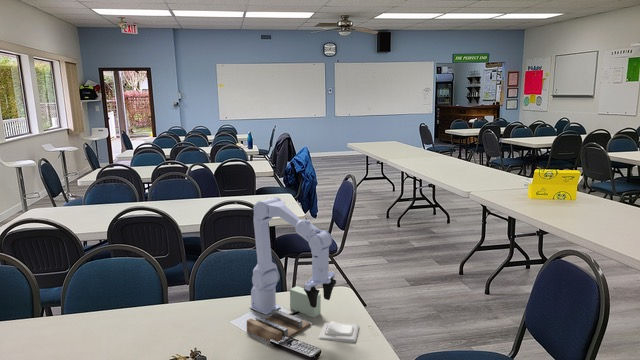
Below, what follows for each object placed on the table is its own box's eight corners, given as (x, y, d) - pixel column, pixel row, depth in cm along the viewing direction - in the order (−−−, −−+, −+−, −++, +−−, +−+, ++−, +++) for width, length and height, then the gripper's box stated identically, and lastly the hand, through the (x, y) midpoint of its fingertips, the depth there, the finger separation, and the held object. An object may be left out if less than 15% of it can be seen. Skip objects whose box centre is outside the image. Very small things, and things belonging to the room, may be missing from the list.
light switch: (323, 316, 163) (358, 317, 161) (324, 326, 164) (359, 328, 161) (317, 331, 153) (355, 333, 150) (318, 342, 153) (355, 344, 151)
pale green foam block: (313, 317, 168) (313, 297, 167) (290, 308, 176) (290, 289, 174) (321, 313, 172) (321, 293, 170) (298, 304, 179) (298, 285, 178)
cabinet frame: (246, 331, 158) (246, 320, 158) (280, 313, 171) (280, 303, 171) (277, 345, 149) (277, 334, 148) (310, 325, 162) (310, 315, 161)
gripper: (315, 275, 148) (315, 313, 150) (342, 263, 159) (341, 299, 161) (299, 270, 152) (300, 307, 154) (326, 258, 163) (326, 293, 166)
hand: (320, 302), depth 158 cm, fingers open, 7 cm apart
